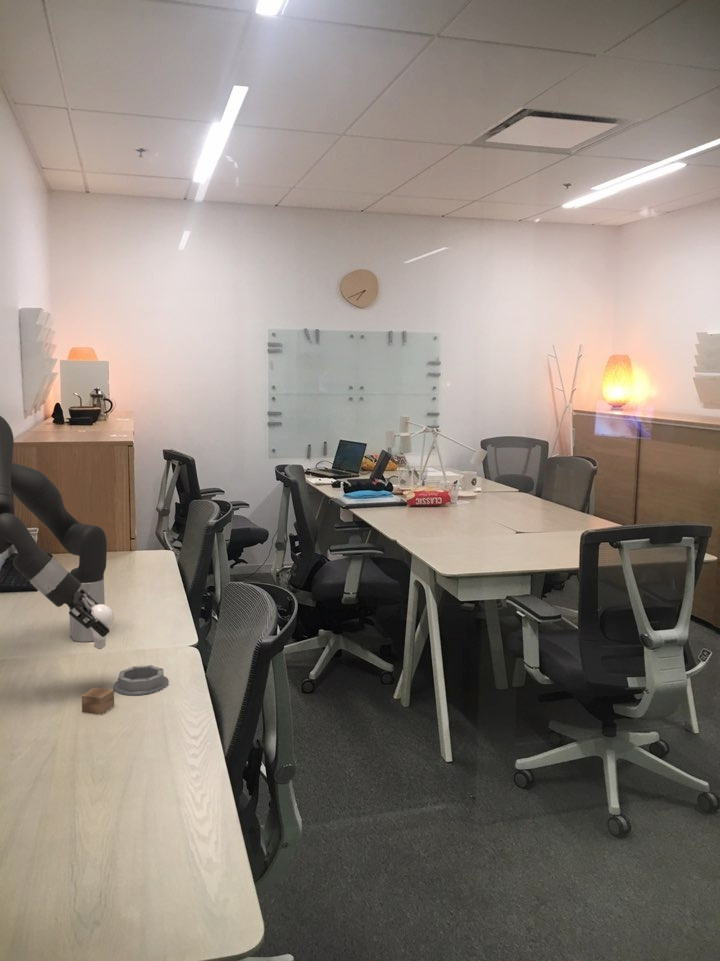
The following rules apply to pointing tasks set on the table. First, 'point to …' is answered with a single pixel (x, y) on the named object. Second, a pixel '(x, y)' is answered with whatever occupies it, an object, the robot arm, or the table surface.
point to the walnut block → (97, 701)
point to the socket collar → (140, 680)
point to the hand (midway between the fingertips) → (107, 628)
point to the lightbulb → (106, 618)
